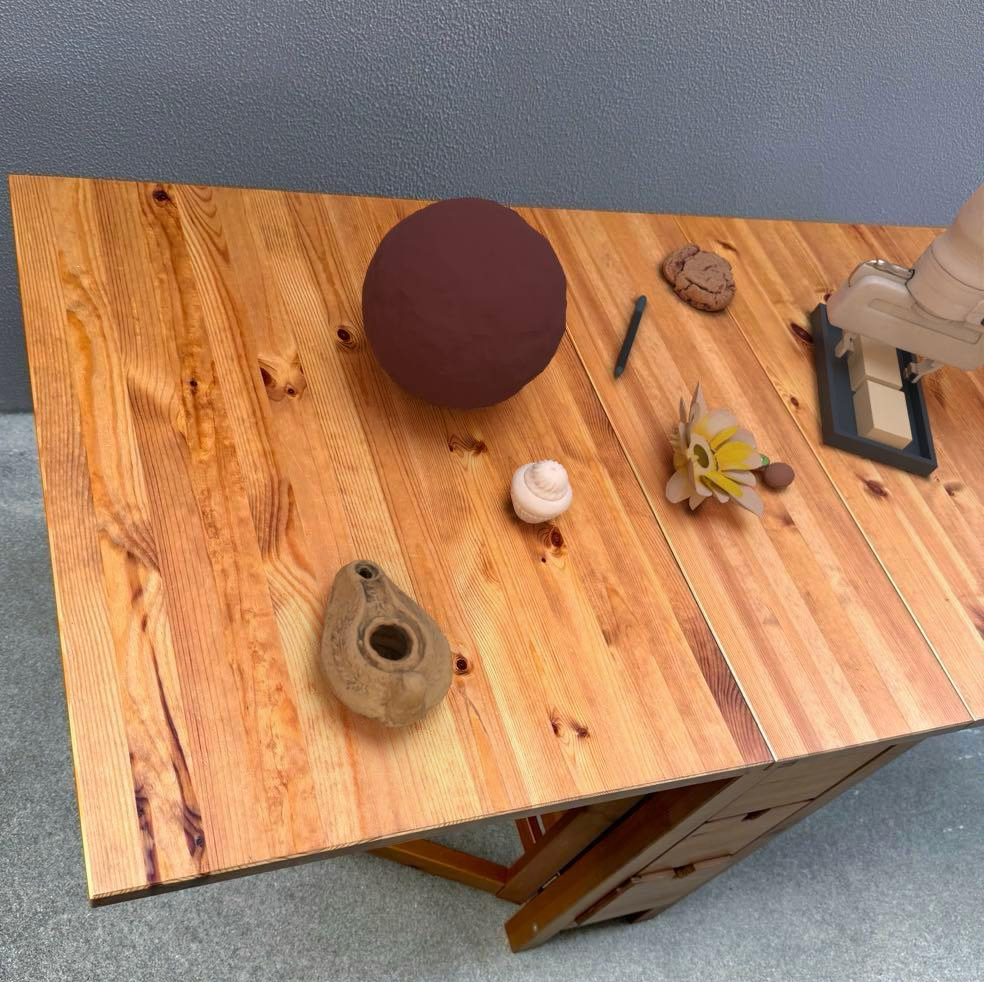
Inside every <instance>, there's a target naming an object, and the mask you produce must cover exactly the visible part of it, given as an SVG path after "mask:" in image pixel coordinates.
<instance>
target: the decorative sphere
mask: <svg viewBox="0 0 984 982" xmlns="http://www.w3.org/2000/svg"><path fill="white" fill-rule="evenodd" d="M567 283H568V281H567V276H566V274H565V271H564V268H563V265H562V264H561V262H560V258H559V257H558V255H557V253H556V251H555V250H554V248H553V247H552V244H551V243H550V241H549V240H548V239H547V238H546V236H544V235H543V234H542V233H540V232H539V231H538V230H537V229H536V228H534V227H533V226H531V225H530V224H529V223H528V222H527V220H526V219H525V218H524V217H523V216H521V215H520V214H519V213H518V211H517V210H515V209H513V208H512V207H508V206H505V205H502V204H501V203H499V202H498V201H496V200H492V199H486V198H481V197H472V196H464V197H455V198H447V199H441V200H439V201H436V202H433V203H430V204H428V205H426V206H425V207H423V208H420V209H417V210H416V211H414V212H413V213H411V214H409V215H408V216H406V217H405V218H403V219H401V220H400V221H398V222H396V224H395V225H394V226H393V227H392V228H391V229H389V230H388V231H387V233H385V234H384V236H383V237H382V239H381V240H380V242H379V244H378V246H377V248H376V250H375V251H374V253H373V255H372V257H371V260H370V261H369V264H368V266H367V269H366V271H365V276H364V280H363V284H362V290H361V314H362V324H363V325H362V327H363V330H364V334H365V338H366V340H367V341H368V344H369V346H370V348H371V351H372V353H373V355H374V357H375V358H376V360H377V362H378V364H379V366H380V367H381V368H382V370H383V371H384V372H385V373H386V374H387V375H388V377H389V378H390V379H391V380H392V381H393V382H394V383H395V384H396V385H397V386H398V387H399V388H401V389H402V390H403V391H405V392H407V393H409V394H412V395H413V396H416V397H418V398H420V399H423V400H424V401H425V402H427V403H429V404H431V405H434V406H439V407H443V408H447V409H453V410H478V409H483V408H488V407H494V406H496V405H498V404H501V403H503V402H506V401H508V400H509V399H511V398H512V397H514V396H516V395H517V394H518V393H519V392H520V391H521V390H522V389H524V388H525V386H527V385H528V384H529V383H531V382H532V381H533V380H535V379H536V378H537V377H538V376H539V375H541V374H542V373H543V372H544V371H545V370H546V369H547V367H548V366H549V365H550V364H551V362H552V360H553V358H554V357H555V356H556V353H557V351H558V349H559V346H560V345H561V342H562V340H563V338H564V335H565V333H566V329H567V308H568V300H567V290H568V284H567Z"/></svg>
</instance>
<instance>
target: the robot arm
mask: <svg viewBox="0 0 984 982" xmlns="http://www.w3.org/2000/svg"><path fill="white" fill-rule="evenodd" d="M825 304H826V309H827V316H828V320H829V323H830V324H831V325H833V326H836V327H839V328H842V340H841V341H840V342H839V344H838V345H837V346H836V348H835V356H836V357H839V358H841V359H844V360H848V359H849V356H851V355H852V354H853V353H854V348H853V346H854V345H853V342H851V341H850V338H851V339H855V338H856V337H857V336H858V335H862V336H865V337H867V338H870V339H873V340H876V341H879V342H882V343H885V344H888V345H890V346H893V347H896V348H899V349H902V350H905V351H908V352H911V353H913V354H916V356H918V357H922V358H925V359H923V360H921V361H918V363H917V364H915V363H912V362H910V363H909V364H908V365H907V368H905V369H904V370H903V371H902V376H903V380H906V381H909V382H911V383H916V382H917V381H918V380H919V379H920V377H921V378H922V377H923V376H927V375H928V374H932V373H934V372H937V371H939V370H941V369H942V368H943V367H944V366H949V367H951V368H954V369H957V370H960V371H962V372H965V373H967V372H973V371H976V370H978V369H981V367H982V366H984V181H983V182H982V183H981V184H980V185H979V186H978V187H977V188H976V189H975V190H974V192H973V193H972V194H971V195H970V196H969V197H968V198H967V200H966V201H965V202H964V203H963V204H962V206H961V207H960V208H959V210H958V211H957V213H956V215H955V217H954V220H953V221H952V223H951V224H950V225H949V227H948V228H947V229H946V230H944V231H942V232H941V233H940V234H938V235H937V236H936V237H935V238H934V239H933V240H932V242H931V243H929V245H928V246H927V247H926V249H925V250H924V251H923V252H922V253H921V255H920V256H919V257H918V258H917V259H916V260H915V262H914V263H913V264H912V265H911V266H910V268H909V267H907V266H904V265H902V264H901V265H900V264H896V263H893V262H890V261H889V260H887V259H884V258H878V257H877V258H876V259H869V260H863V261H861V262H859V263H858V264H857V265H856V266H855V268H854V269H853V270H852V271H851V273H850V274H849V276H848V277H847V278H846V279H845V280H844V281H843V282H842V283H841V284H840V285H839V286H838V287H837V288H836V289H835V291H833V293H832V294H830V296H829V297H828V299H827V300H826V303H825Z"/></svg>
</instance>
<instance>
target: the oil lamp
mask: <svg viewBox="0 0 984 982" xmlns="http://www.w3.org/2000/svg"><path fill="white" fill-rule="evenodd" d="M319 642H320V643H319V649H318V662H319V663H318V664H319V667H320V670H321V673H322V676H323V678H324V679H325V681H326V683H327V686H328V687H329V689H330V690H331V692H332V693H333V695H334V696H335V697H336V698H337V700H339V701H340V703H342V704H343V705H344V706H345V707H346V708H347V709H348V710H350V712H352V713H354V714H358V715H362V716H364V717H366V718H369V719H371V720H374V721H376V722H377V723H379V724H381V725H382V726H383V727H385V728H388V729H398V728H399V729H400V728H405V727H408V726H411V725H412V724H414V723H417V722H418V721H421V720H424V719H425V718H426V714H427V713H428V712H430V711H431V710H433V709H434V708H435V707H437V706H438V705H439V704H440V703H441V702H442V701H443V700H444V699H445V697H446V695H447V693H448V691H449V689H450V687H451V684H452V682H453V678H454V670H453V658H452V652H451V646H450V644H449V640H448V639H447V636H445V634H444V632H443V630H442V629H441V626H439V624H438V623H437V622H436V620H435V619H434V618H433V617H432V616H431V615H430V614H429V613H428V612H427V611H426V610H425V609H423V608H422V606H421V605H419V603H417V602H416V601H415V600H414V598H412V597H410V596H409V595H408V594H407V593H406V591H405V592H404V591H403V590H402V589H401V588H400V587H399V586H398V585H397V584H395V582H393V580H392V579H391V578H390V577H389V576H388V575H387V573H386V572H385V570H384V569H383V567H381V566H380V565H379V564H378V563H376V562H374V561H372V560H370V559H355V560H353V561H351V562H349V563H347V564H345V565H343V566H342V567H341V568H340V569H339V570H338V571H337V572H336V573H335V576H334V578H333V581H332V583H331V587H330V590H329V594H328V599H327V603H326V609H325V615H324V620H323V626H322V631H321V636H320V641H319Z"/></svg>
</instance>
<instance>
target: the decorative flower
mask: <svg viewBox="0 0 984 982" xmlns="http://www.w3.org/2000/svg"><path fill="white" fill-rule="evenodd" d="M678 411H679V412H678V413H679V421H678V428H675V429H674V430H675V432H676V433H670V434H669V435H670V436H671V438H672V439H673V440H669V443H670V444H671V445H673V446H675V447H673V448H672V450H673V451H674V454H673V459H672V462H673V464H672V465H673V469H674V470H675V472H674V473H673V475H671V477H669V480H668V481H667V482H666V486H665V497H666V499H667V500H668V501H669V502H670V503H673V504H677V503H680V502H682V501H684V500H687V499H689V503H688V505H689V506H690V509H691V510H692V511H694V510H695V509H696V508H697V507H698V506H699V505H700V504H701V503H702V502H703V501H704V500H705V499H706V498H707V497H711V496H713V497H714V498H715V499H717V500H718V502H720V503H722V504H725V503H726V502H729V500H730V501H731V502H733V503H734V504H735V505H738V506H739V507H741V509H744V510H746V511H748V512H749V513H752V514H755V515H756V516H759V517H762V516H764V511H765V504H764V502H763V499H762V497H761V496H760V495H759V494H758V493H757V492H756V491H755V490H754V489H752V488H751V487H754V486H755V485H756V484H757V480H756V477H755V475H754V474H753V473H752V471H751V470H750V469H756V468H758V467H760V466H762V458H761V456H760V454H761V453H760V452H759V451H758V449H757V447H758V444H757V441H756V438H755V436H754V433H753V432H752V431H750V430H749V429H748V428H745V427H742V426H739V425H740V421H739V420H738V418H737V417H736V416H737V415H735V413H733V412H732V411H731V410H729V409H727V408H724V407H723V408H722V407H721V408H713V409H712V410H708V406H707V403H706V401H705V397H704V394H703V390H702V385H701V383H700V380H697V383H696V387H695V390H694V393H693V395H692V399H691V402H690V406H689V411H688V419H687V410H686V403H685V400H684V397H683V395H680V398H679V410H678ZM759 453H760V454H759ZM749 486H751V487H749Z"/></svg>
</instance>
